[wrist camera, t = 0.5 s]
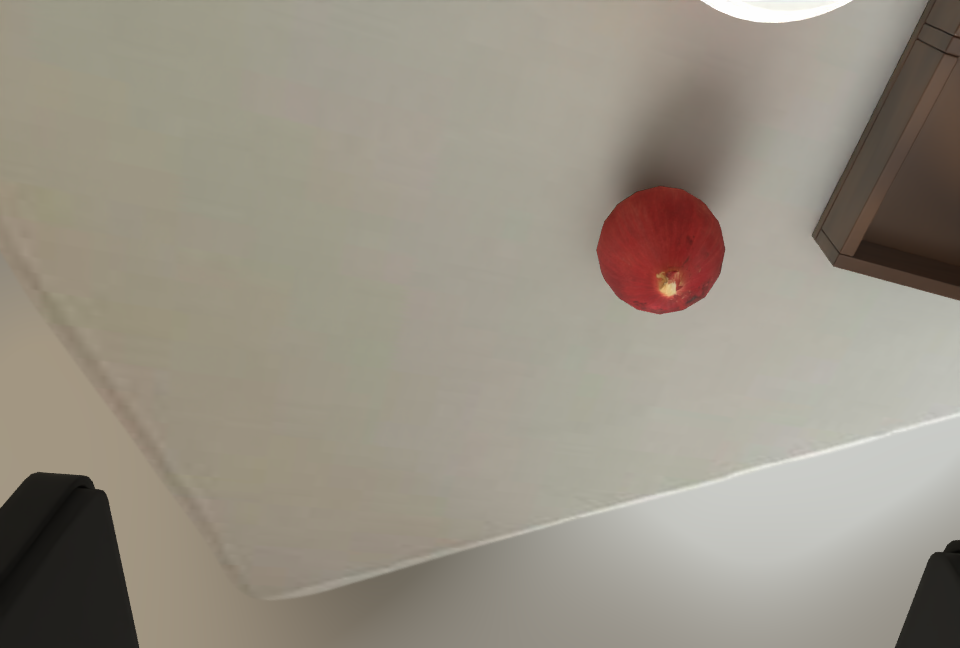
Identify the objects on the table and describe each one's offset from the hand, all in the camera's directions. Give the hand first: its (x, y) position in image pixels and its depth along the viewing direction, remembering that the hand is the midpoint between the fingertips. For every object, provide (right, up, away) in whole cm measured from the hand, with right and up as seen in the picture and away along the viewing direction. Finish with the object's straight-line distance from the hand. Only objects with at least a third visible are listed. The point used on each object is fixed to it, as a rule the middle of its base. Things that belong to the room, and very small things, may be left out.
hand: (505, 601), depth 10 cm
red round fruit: (+8, +9, +33) cm, 35 cm away
